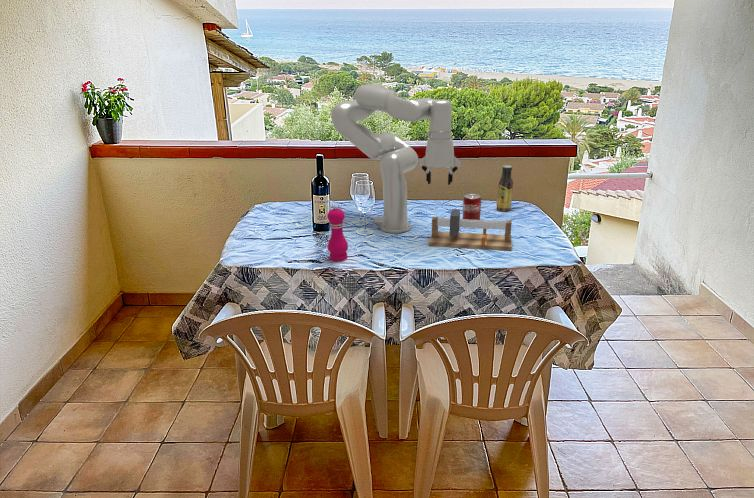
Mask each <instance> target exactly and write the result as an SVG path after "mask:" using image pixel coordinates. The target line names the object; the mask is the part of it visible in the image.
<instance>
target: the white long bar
mask: <svg viewBox="0 0 754 498" xmlns="http://www.w3.org/2000/svg"><path fill="white" fill-rule="evenodd" d="M437 226H438V227H445V228H447V227H449V228H450V217H448V218H445V217H443V218H442V217H438V220H437ZM459 227H460V228H464V229H465V228H466V229H467V228H469V229H483V228H484V229H486V230H505V228H506V220H486V219H480V220H469V219H462V218H460V219H459Z"/></svg>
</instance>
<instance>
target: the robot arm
mask: <svg viewBox="0 0 754 498" xmlns="http://www.w3.org/2000/svg"><path fill="white" fill-rule="evenodd" d="M452 105H453V104H452V101H451V100H449V99H436V98H431V97H422V98H416V99H412V100H410V99H405V98H401V97H398V93H397V92H396V91H395V90H394V89H390V88H389V89H388V88H386V87H385V86H384V85H383V84H381V83H379V82H374V83H368V84H367V83H366V84H362V85H360V86H359V87H357V88H356V90H355V92H354V99H351V100H344V101H342V102H339V103H337V104H336V105H334V107H332V110H331V113H330V114H331V115H330V116H331V122H332V125H333V128H334V129H335V130H336V132H337V133H338V134H339V135H340V136H342V137H343V138H344V139H345V140H346V141H348V142H349V143H351V144H352V145H354V146H355V147H356V148H357V149H358V150H359V151H361V152H362V153H363V154H365V155H366V156H367V157H368V158H369V159H372V160H380V162H379V169H380V174H381V178H382V179H381V180H382V199H383V201H382V202H383V204H382V205H383V208H382V209H383V210H382V211H383V216H381V217H378V216H374V217H373V222H374V223H375V224H380V225H379V227H380V230H381V231H382V232H385V233H387V234H388V233H389V234H400V233H406V232H408V231H410V230H411V228H412V225H411V223H409V222H408V186H407V185H408V184H407V180H406V178H405V176H404V174H405V173H408V172H410V171H412V170H414V169H415V168H416V167H417V165H419V167H420V168H421V169H422V170H423V172H424V173H425V174H426V177H425V180H426V181H425V182H427V185H430V184H431V182H432V171H431V169H432V168H434V169H435V168H437V169H447V170H448V174H447V185H448V186H450V185H451V184H452V183H453V178H454V177H453V174H454V173H455V172H457V170H458V169H459V168H460V167H461V166H462V162H461V160H460V159H458V158H457V157H456V156H455V151H454V149H455V148H454V147H455V146H454V141H453V138H452V113H453V112H452V111H453V109H452ZM376 111H378V112H381V113H386V114H387V115H388V116H390V117H391V118H394V119H397V120H400V121H403V122H404V121H405V122H409V123H410V122H411V123H416V122H419V121H420V122H421V121H425V120H428V119H429V131H426V132H425V137H429V138H428V139H427V141H426V149H425V155H424V156H423V157H422V158H421V159H420V160H419V156H418V154H417V152H416V151H415V150H414V148H412V146H410V145H408V144H407V143H406V142H405V141H403V139H401V138H399V137H398V136H397V135H395V134H393V133H391V132H381V133H375V132H373V131H371V129H369V128H368V127H366V126H365V125H363V124H361V123H358V122H360V121H363V120H365V119H367V118H369V117H370V116H371V115H373V114H374V113H375V112H376ZM424 162H425V164H424ZM454 163H455V164H456V165H455V166H454Z"/></svg>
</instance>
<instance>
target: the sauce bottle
mask: <svg viewBox="0 0 754 498" xmlns="http://www.w3.org/2000/svg"><path fill="white" fill-rule="evenodd" d="M512 170H513V166H512V165H509V164H507V165H503V166H502V174H501V178H500V179H499V182H498V184H497V198H496V210H497V211H500V212H509V211H510V210H511V206H512V199H513V189H514V188H513V185H514V181H513V178H512Z"/></svg>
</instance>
